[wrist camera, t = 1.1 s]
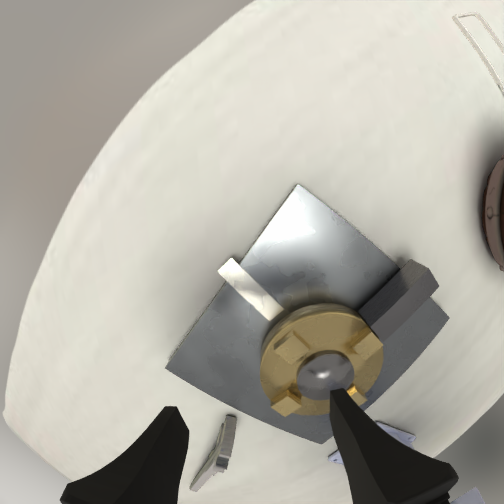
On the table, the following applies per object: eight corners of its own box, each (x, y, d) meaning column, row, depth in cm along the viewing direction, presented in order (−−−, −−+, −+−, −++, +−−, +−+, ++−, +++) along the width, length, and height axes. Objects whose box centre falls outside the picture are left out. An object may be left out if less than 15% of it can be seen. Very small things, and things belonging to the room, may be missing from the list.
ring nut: (309, 412, 21) (313, 435, 18) (235, 356, 19) (231, 380, 17) (438, 304, 18) (458, 318, 15) (384, 222, 17) (404, 228, 14)
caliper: (226, 411, 23) (218, 459, 17) (237, 414, 23) (231, 462, 17) (189, 485, 28) (182, 517, 21) (197, 487, 28) (190, 519, 21)
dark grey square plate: (448, 305, 20) (455, 310, 18) (319, 436, 23) (321, 445, 22) (291, 166, 18) (293, 165, 17) (159, 354, 22) (154, 362, 20)
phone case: (533, 116, 15) (472, 15, 13) (539, 114, 13) (478, 11, 11) (517, 133, 16) (448, 19, 14) (524, 132, 15) (453, 14, 12)
